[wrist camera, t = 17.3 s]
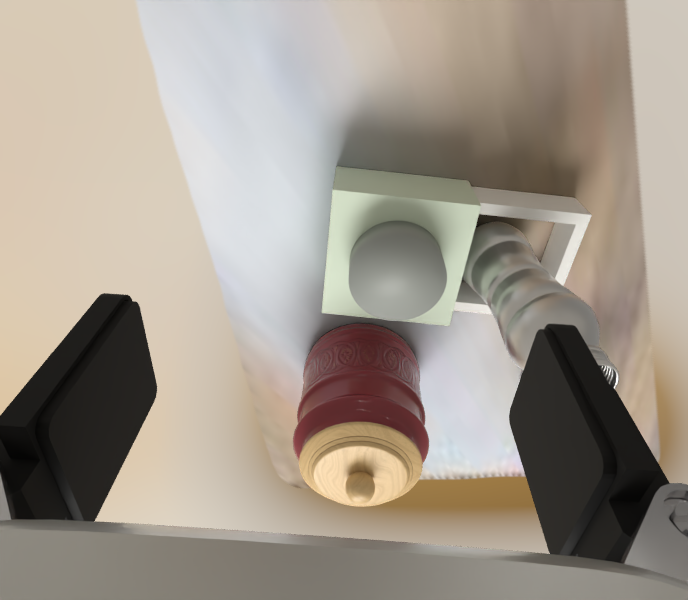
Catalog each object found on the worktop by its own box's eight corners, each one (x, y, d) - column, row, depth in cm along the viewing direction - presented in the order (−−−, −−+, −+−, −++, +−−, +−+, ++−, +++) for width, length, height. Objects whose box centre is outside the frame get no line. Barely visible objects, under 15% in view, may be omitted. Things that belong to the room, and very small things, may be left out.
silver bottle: (531, 233, 48) (665, 365, 31) (487, 286, 50) (587, 435, 33) (481, 202, 45) (595, 327, 28) (437, 259, 48) (517, 405, 31)
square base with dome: (336, 166, 44) (330, 203, 37) (576, 192, 45) (619, 235, 37) (325, 280, 51) (318, 332, 43) (536, 302, 51) (565, 357, 44)
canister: (401, 414, 61) (412, 553, 46) (297, 396, 60) (275, 532, 45) (432, 331, 54) (457, 464, 39) (315, 310, 53) (296, 437, 38)
